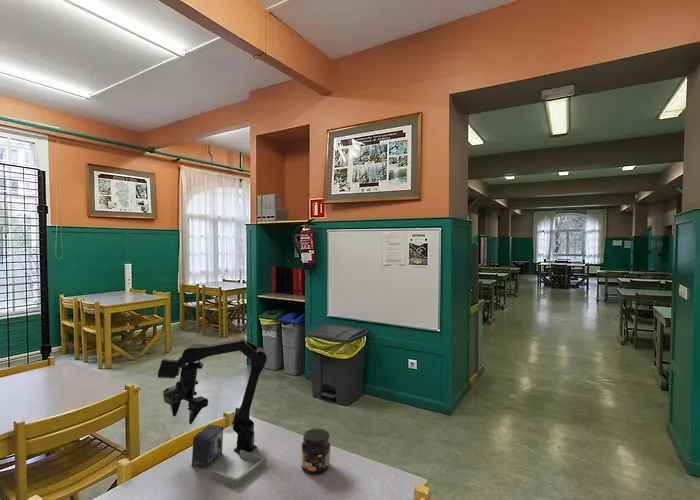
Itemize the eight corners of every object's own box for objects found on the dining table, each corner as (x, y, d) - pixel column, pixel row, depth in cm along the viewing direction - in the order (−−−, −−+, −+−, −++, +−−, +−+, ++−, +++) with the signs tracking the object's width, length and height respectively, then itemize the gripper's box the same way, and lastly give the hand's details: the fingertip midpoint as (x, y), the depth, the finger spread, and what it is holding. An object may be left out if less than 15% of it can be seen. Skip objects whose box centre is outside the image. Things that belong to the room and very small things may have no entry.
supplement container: (294, 468, 130) (295, 435, 130) (314, 456, 139) (315, 424, 139) (316, 480, 124) (317, 445, 124) (335, 466, 132) (336, 433, 132)
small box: (207, 469, 128) (208, 439, 128) (190, 466, 129) (191, 437, 129) (223, 453, 138) (224, 425, 138) (208, 450, 140) (209, 423, 140)
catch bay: (241, 456, 136) (241, 449, 136) (265, 465, 132) (266, 458, 132) (210, 478, 123) (211, 470, 123) (236, 488, 118) (237, 481, 118)
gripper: (152, 377, 134) (146, 419, 133) (186, 391, 125) (180, 436, 125) (179, 370, 144) (173, 410, 143) (211, 383, 135) (206, 425, 135)
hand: (182, 420), depth 136 cm, fingers open, 9 cm apart
